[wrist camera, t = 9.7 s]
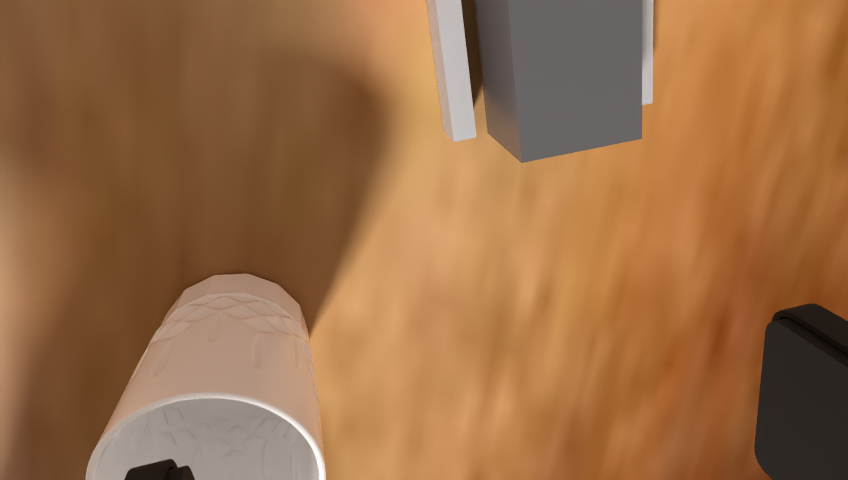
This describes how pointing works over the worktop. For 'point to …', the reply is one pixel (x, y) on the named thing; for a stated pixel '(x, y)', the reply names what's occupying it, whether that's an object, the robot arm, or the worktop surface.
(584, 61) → the gray rectangular box
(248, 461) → the white cup
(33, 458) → the worktop surface
